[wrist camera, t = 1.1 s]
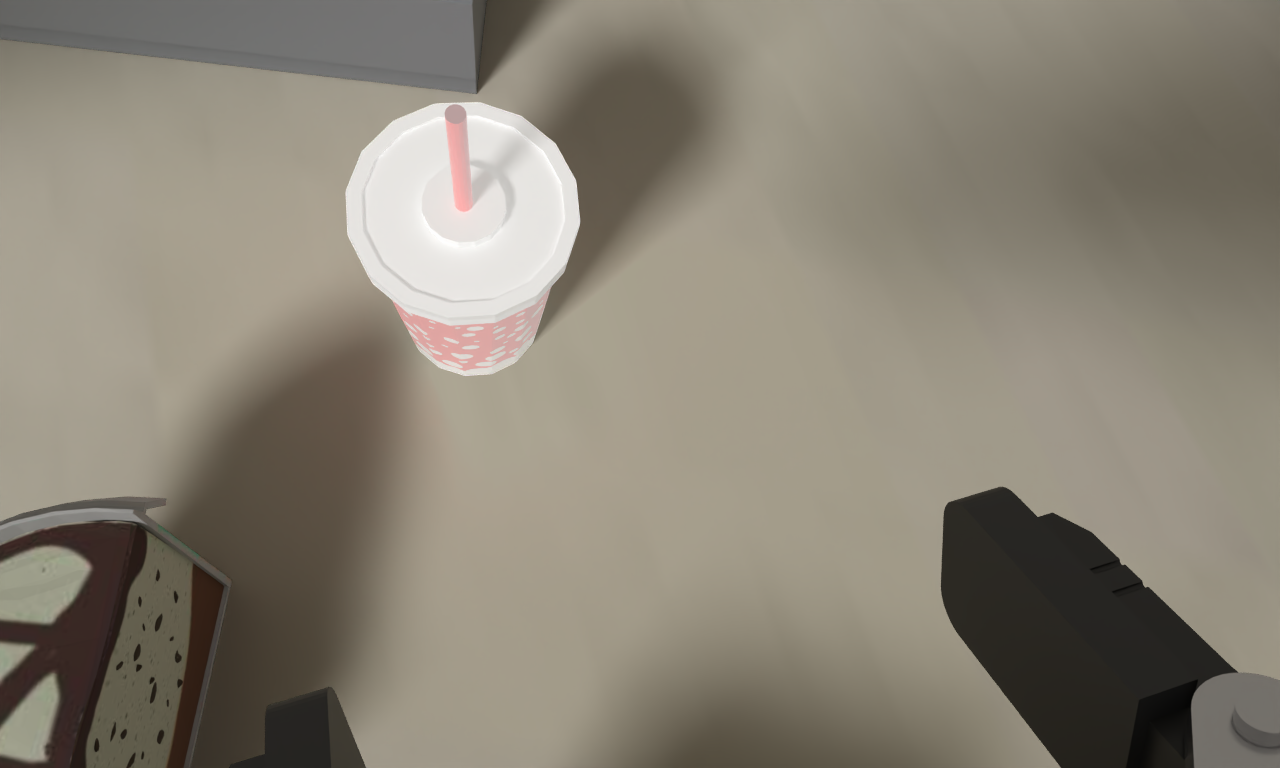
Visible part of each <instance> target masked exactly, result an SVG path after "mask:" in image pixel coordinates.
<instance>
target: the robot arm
mask: <svg viewBox="0 0 1280 768" xmlns="http://www.w3.org/2000/svg"><path fill="white" fill-rule="evenodd" d="M941 592H942V598H943V602H944V606H945V609H946V612H947V614H948V617H949V619H950V621H951V623H952V625H953V627H954V628H955V630H956V632H957V633H958V635H959V636H960V637H961V638H962V640H963V641H964V642H965V644H966V645H967V646H968V648H969V649H970V650H971V651H972V653H973V654H974V655H975V657H976V658H977V659H978V661H979V662H980V663H981V664H982V666H983V667H984V668H985V670H986V671H987V672H988V673H989V675H990V676H991V677H992V679H993V680H994V681H995V683H996V684H997V685H998V686H999V688H1000V689H1001V690H1002V692H1003V693H1004V694H1005V696H1006V697H1007V698H1008V699H1009V701H1010V702H1011V703H1012V705H1013V706H1014V707H1015V708H1016V710H1017V711H1018V712H1019V714H1020V715H1021V716H1022V718H1023V719H1024V720H1025V721H1026V723H1027V724H1028V725H1029V727H1030V728H1031V729H1032V731H1033V732H1034V733H1035V734H1036V736H1037V737H1038V738H1039V740H1040V741H1041V742H1042V743H1043V745H1044V746H1045V747H1046V749H1047V750H1048V751H1049V753H1050V754H1051V755H1052V756H1053V758H1054V759H1055V760H1056V762H1057V763H1058V764H1059V766H1060V767H1061V768H1280V680H1277V679H1274V678H1271V677H1267V676H1263V675H1259V674H1252V673H1238V672H1237V671H1236V670H1235V669H1234V668H1233V667H1231V666H1230V665H1229V664H1228V663H1227V662H1226V661H1225V660H1224V659H1223V658H1222V657H1221V656H1220V655H1219V654H1218V653H1217V652H1216V651H1215V650H1214V649H1213V648H1211V647H1210V646H1209V645H1208V644H1207V643H1206V642H1205V641H1204V640H1203V639H1202V638H1201V637H1200V636H1199V635H1198V634H1197V633H1196V632H1195V631H1194V630H1193V629H1192V628H1191V627H1190V626H1189V625H1188V624H1186V623H1185V622H1184V621H1183V620H1182V619H1181V618H1180V617H1179V616H1178V615H1177V614H1176V613H1175V612H1174V611H1173V610H1172V609H1171V608H1170V607H1169V606H1168V605H1167V604H1166V603H1165V602H1164V601H1163V600H1161V599H1160V598H1159V597H1158V596H1157V595H1156V594H1155V593H1154V592H1153V591H1152V590H1151V589H1150V588H1149V587H1146V588H1145V587H1144V586H1143V583H1142V580H1141V579H1140V578H1139V577H1138V576H1136V575H1135V574H1134V573H1133V572H1132V571H1131V570H1130V569H1129V568H1128V567H1127V566H1126V565H1121V563H1120V559H1119V558H1118V557H1117V556H1116V555H1115V554H1114V553H1113V552H1111V551H1110V550H1109V549H1108V548H1107V547H1106V546H1105V545H1104V544H1103V543H1102V542H1101V541H1100V540H1099V539H1098V538H1097V537H1096V536H1095V535H1094V534H1093V533H1092V532H1090V531H1088V530H1086V529H1084V528H1082V527H1080V526H1078V525H1076V524H1074V523H1072V522H1070V521H1068V520H1066V519H1064V518H1062V517H1060V516H1058V515H1056V514H1054V513H1050V514H1047V515H1043V516H1040V517H1037V516H1036V515H1035V514H1034V513H1033V512H1032V511H1031V510H1030V509H1029V508H1028V507H1027V506H1026V505H1025V504H1024V503H1023V502H1022V501H1021V500H1020V499H1019V498H1018V497H1017V496H1016V495H1015V494H1014V493H1013V492H1012V491H1011V490H1009V489H1007V488H1005V487H998V488H994V489H991V490H988V491H984V492H981V493H978V494H975V495H971V496H968V497H965V498H961V499H958V500H955V501H951V502H949V503H948V504H947V505H946V507H945V510H944V521H943V547H942V572H941ZM229 768H366V767H365V764H364V762H363V759H362V757H361V754H360V752H359V749H358V747H357V744H356V742H355V739H354V737H353V735H352V732H351V730H350V727H349V725H348V722H347V720H346V717H345V715H344V712H343V710H342V708H341V705H340V703H339V700H338V698H337V695H336V693H335V691H334V690H333V688H331V687H328V688H324V689H321V690H318V691H314V692H311V693H308V694H305V695H301V696H298V697H295V698H291V699H288V700H285V701H281V702H278V703H275V704H271V705H269V706H268V707H267V709H266V716H265V754H264V755H260V756H257V757H254V758H251V759H247V760H244V761H241V762H238V763H235V764H231V765H230V767H229Z"/></svg>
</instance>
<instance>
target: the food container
mask: <svg viewBox="0 0 1280 768" xmlns="http://www.w3.org/2000/svg"><path fill="white" fill-rule="evenodd" d="M164 505H166V499H165V498H146V497H116V498H105V499H93V500H83V501H77V502H71V503H65V504H61V505H56V506H52V507H47V508H43V509H39V510H34V511H30V512H26V513H22V514H19V515H16V516H14V517H11V518H9V519H6V520H3V521H1V522H0V768H190V767H191V763H192V758H193V754H194V749H195V745H196V740H197V736H198V731H199V727H200V722H201V718H202V713H203V709H204V704H205V700H206V695H207V691H208V687H209V682H210V678H211V673H212V669H213V664H214V660H215V655H216V651H217V646H218V642H219V637H220V633H221V628H222V624H223V619H224V615H225V610H226V606H227V601H228V597H229V592H230V588H231V583H232V580H231V579H230V578H228V577H227V576H226V575H224V574H223V573H222V572H221V571H219V570H218V569H217V568H215V567H214V566H213V565H211V564H210V563H209V562H207V561H206V560H205V559H203V558H202V557H201V556H199V555H198V554H197V553H195V552H194V551H193V550H192V549H190V548H189V547H188V546H186V545H185V544H184V543H182V542H181V541H180V540H178V539H177V538H176V537H174V536H173V535H172V534H170V533H169V532H168V531H166V530H165V529H164V528H163V527H161V526H160V525H159V524H157V523H156V522H155V521H153V520H152V519H151V518H149V517H148V516H147V515H145V514H146V509H150V508H155V507H159V506H164Z"/></svg>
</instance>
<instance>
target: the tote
mask: <svg viewBox="0 0 1280 768" xmlns="http://www.w3.org/2000/svg"><path fill="white" fill-rule="evenodd" d="M486 2H487V0H0V39H6V40H15V41H24V42H32V43H41V44H50V45H58V46H67V47H76V48H84V49H93V50H102V51H111V52H119V53H128V54H137V55H145V56H154V57H163V58H171V59H180V60H189V61H197V62H206V63H215V64H223V65H232V66H241V67H249V68H258V69H267V70H276V71H284V72H293V73H302V74H310V75H319V76H328V77H336V78H345V79H354V80H362V81H371V82H380V83H388V84H397V85H406V86H414V87H423V88H432V89H441V90H449V91H458V92H467V93H475V94H477V85H478V76H479V67H480V57H481V48H482V39H483V30H484V20H485V11H486Z"/></svg>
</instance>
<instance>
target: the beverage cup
mask: <svg viewBox="0 0 1280 768" xmlns="http://www.w3.org/2000/svg"><path fill="white" fill-rule="evenodd" d="M346 212H347V234H348V237H349V239H350V241H351V243H352V245H353V247H354V249H355V251H356V253H357V255H358V257H359V259H360V261H361V263H362V265H363V267H364V269H365V271H366V273H367V275H368V277H369V278H370V280H371V282H372V284H374V285H375V286H376V287H377V288H378V289H380V290H381V291H382V292H383V293H384V294H386V295H387V296H388V297H389V298H390V299H391V300H392V301H393V303H394V305H395V307H396V309H397V311H398V312H399V314H400V316H401V318H402V320H403V322H404V324H405V325H406V327H407V329H408V331H409V333H410V335H411V337H412V338H413V340H414V342H415V344H416V346H417V348H418V349H419V351H420V352H421V353H422V354H424V355H425V356H426V357H427V358H428V359H430V360H431V361H432V362H433V363H434V364H436V365H437V366H438V367H439V368H442V369H445V370H448V371H451V372H454V373H457V374H461V375H464V376H471V375H485V374H493V373H495V372H497V371H499V370H501V369H503V368H505V367H507V366H509V365H512V364H514V363H516V362H517V360H518V359H519V358H520V357H521V356H522V355H523V354H524V353H525V351H526V350H527V349H528V348H529V347H530V346H531V345H532V344H533V341H534V338H535V335H536V332H537V329H538V326H539V323H540V320H541V317H542V314H543V311H544V308H545V305H546V302H547V298H548V295H549V292H550V289H551V286H552V285H553V284H554V283H555V282H556V281H557V280H558V279H559V278H560V276H561V275H562V274H563V273H564V271H565V268H566V265H567V262H568V260H569V257H570V254H571V251H572V248H573V245H574V242H575V239H576V236H577V233H578V230H579V227H580V214H579V204H578V194H577V184H576V179H575V178H574V176H573V174H572V172H571V170H570V169H569V167H568V165H567V163H566V161H565V160H564V158H563V156H562V154H561V152H560V151H559V149H558V147H557V145H556V143H554V142H553V141H552V140H551V139H549V138H548V137H547V136H546V135H544V134H543V133H542V132H541V131H539V130H538V129H537V128H536V127H535V126H533V125H532V124H531V123H530V122H528V121H527V120H526V119H525V118H523V117H522V116H520V115H517V114H514V113H511V112H508V111H505V110H502V109H499V108H496V107H493V106H490V105H486V104H483V103H480V102H468V103H438V104H432V105H430V106H427V107H425V108H423V109H420V110H418V111H415V112H413V113H410V114H408V115H406V116H403V117H401V118H398V119H396V120H394V121H392V122H391V123H390V124H389V125H388V126H387V127H386V128H385V129H384V130H383V131H382V132H381V133H380V134H379V135H378V136H377V137H376V138H375V139H374V140H373V141H372V142H371V143H370V144H369V145H368V146H367V147H366V148H365V149H364V150H363V151H362V152H361V154H360V157H359V159H358V162H357V164H356V167H355V169H354V172H353V174H352V177H351V179H350V182H349V184H348V186H347V189H346Z"/></svg>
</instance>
